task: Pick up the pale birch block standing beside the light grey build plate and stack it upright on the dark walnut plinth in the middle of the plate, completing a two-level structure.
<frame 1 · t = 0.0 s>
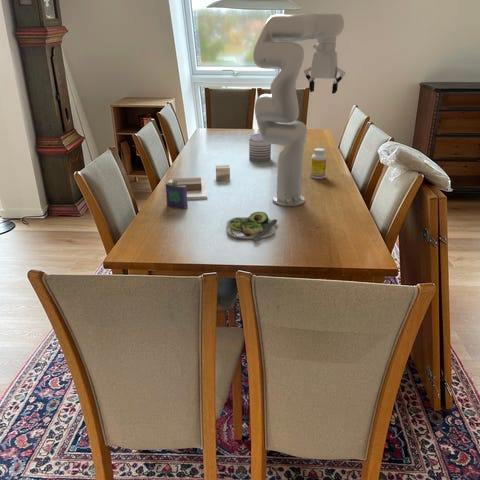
hand: (322, 92, 194), 37 cm above the table, tool pointing down, fingers open, 9 cm apart
can: (259, 160, 237), on the table
supplement bottle: (317, 177, 211), on the table
salad plate: (251, 230, 161), on the table
plinth: (186, 184, 195), on the build plate, point 3 cm above the table
flask: (177, 207, 180), on the table
birch block: (222, 179, 209), on the table
build plate: (187, 190, 196), on the table
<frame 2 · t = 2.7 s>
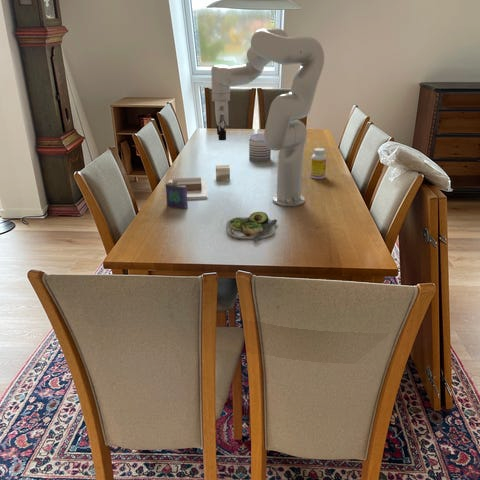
hand: (221, 137, 201), 19 cm above the table, tool pointing down, fingers open, 9 cm apart
nothing on the table moved.
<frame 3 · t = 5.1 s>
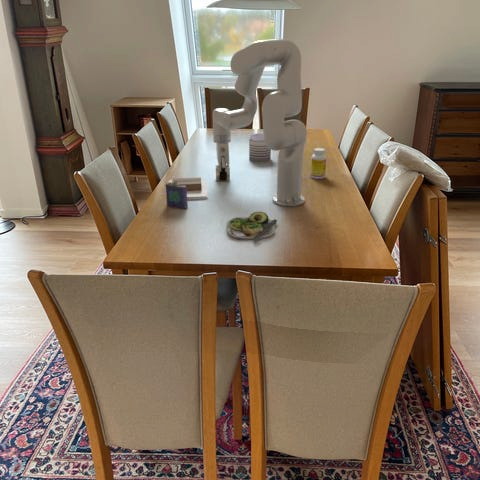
hand: (222, 177, 209), 1 cm above the table, tool pointing down, fingers closed on birch block, 4 cm apart
birch block: (222, 179, 209), on the table, touching gripper
everything else where it was.
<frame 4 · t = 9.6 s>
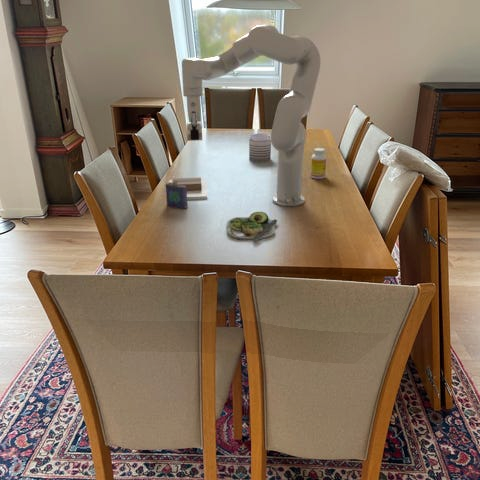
hand: (194, 137, 190), 21 cm above the table, tool pointing down, fingers closed on birch block, 4 cm apart
birch block: (194, 139, 191), point 21 cm above the table, touching gripper
everything else where it was.
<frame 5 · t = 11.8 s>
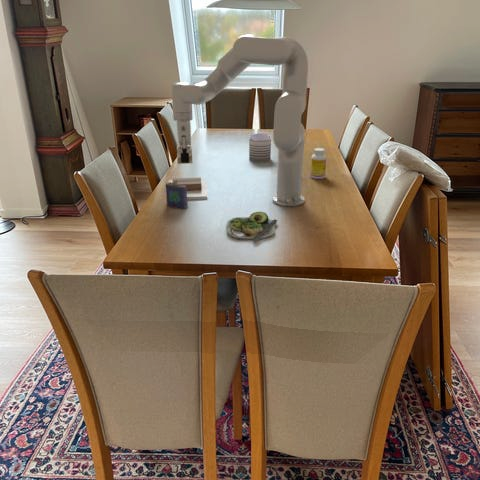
hand: (185, 160, 190), 13 cm above the table, tool pointing down, fingers closed on birch block, 4 cm apart
birch block: (185, 161, 191), point 12 cm above the table, touching gripper
everything else where it was.
when the fingers open (6 cm above the table, at t = 13.8 s): birch block drops 1 cm, resting on plinth.
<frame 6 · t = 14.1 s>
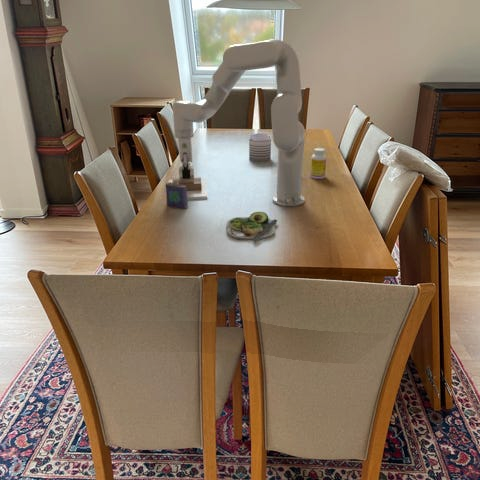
hand: (186, 175, 193), 7 cm above the table, tool pointing down, fingers open, 7 cm apart
birch block: (186, 181, 194), point 4 cm above the table, touching plinth
everything else where it was.
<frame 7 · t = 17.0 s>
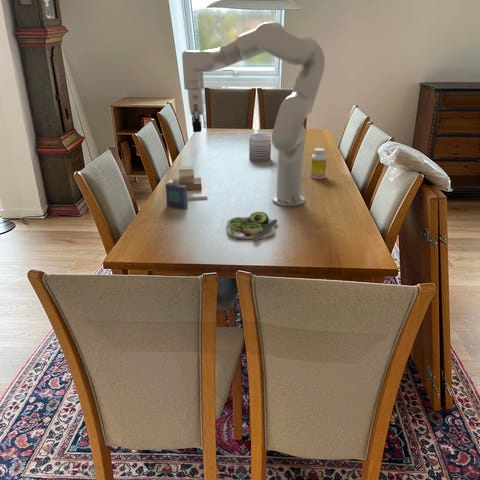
hand: (196, 129, 187), 25 cm above the table, tool pointing down, fingers open, 9 cm apart
nothing on the table moved.
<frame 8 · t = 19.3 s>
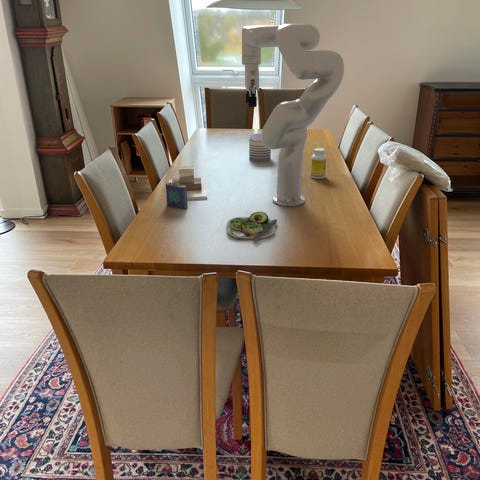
hand: (251, 104, 191), 33 cm above the table, tool pointing down, fingers open, 9 cm apart
nothing on the table moved.
at the end: birch block inside the target area on the plinth (0.1 cm from its centre), point 4.2 cm above the plinth's base; birch block tilted 0°; the gripper is holding nothing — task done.
